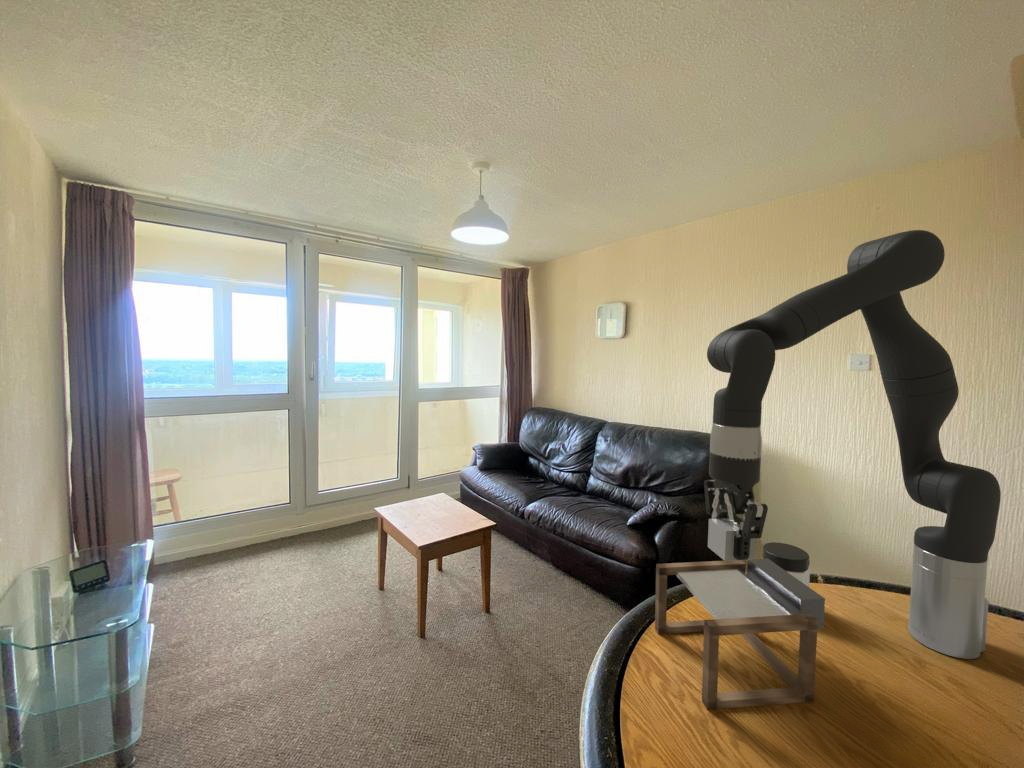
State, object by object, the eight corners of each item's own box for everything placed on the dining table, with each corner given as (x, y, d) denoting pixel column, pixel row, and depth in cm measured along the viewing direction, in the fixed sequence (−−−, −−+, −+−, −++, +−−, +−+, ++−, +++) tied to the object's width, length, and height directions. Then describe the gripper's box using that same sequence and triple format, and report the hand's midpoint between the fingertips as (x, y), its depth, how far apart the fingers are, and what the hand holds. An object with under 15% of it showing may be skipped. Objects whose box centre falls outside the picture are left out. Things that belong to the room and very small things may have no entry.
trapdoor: (763, 581, 80) (764, 556, 79) (827, 632, 65) (829, 601, 65) (675, 586, 78) (676, 560, 78) (720, 638, 64) (721, 607, 63)
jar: (819, 616, 84) (821, 558, 84) (785, 621, 83) (787, 563, 82) (781, 591, 93) (783, 539, 92) (750, 596, 91) (752, 543, 91)
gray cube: (734, 545, 73) (736, 518, 73) (753, 559, 68) (755, 530, 68) (707, 546, 73) (708, 518, 72) (724, 560, 68) (726, 530, 67)
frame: (738, 623, 82) (740, 559, 81) (813, 701, 64) (817, 619, 63) (654, 628, 81) (656, 563, 80) (707, 709, 62) (709, 626, 61)
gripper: (788, 462, 62) (782, 571, 64) (730, 442, 77) (725, 532, 78) (740, 462, 62) (735, 573, 63) (690, 442, 76) (687, 533, 77)
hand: (730, 550), depth 70 cm, fingers closed on gray cube, 5 cm apart
